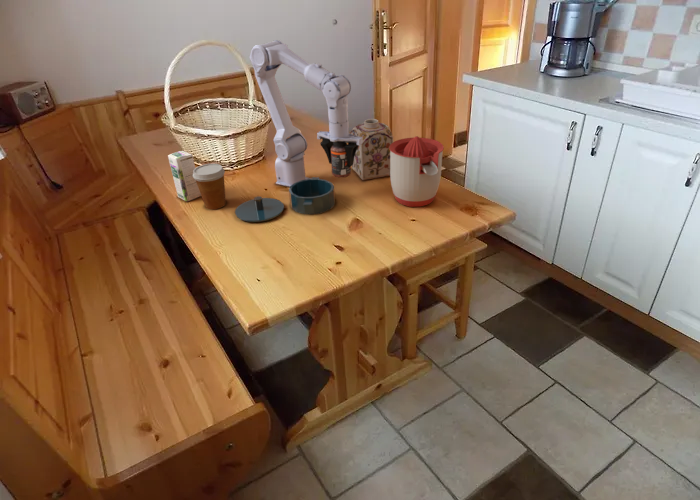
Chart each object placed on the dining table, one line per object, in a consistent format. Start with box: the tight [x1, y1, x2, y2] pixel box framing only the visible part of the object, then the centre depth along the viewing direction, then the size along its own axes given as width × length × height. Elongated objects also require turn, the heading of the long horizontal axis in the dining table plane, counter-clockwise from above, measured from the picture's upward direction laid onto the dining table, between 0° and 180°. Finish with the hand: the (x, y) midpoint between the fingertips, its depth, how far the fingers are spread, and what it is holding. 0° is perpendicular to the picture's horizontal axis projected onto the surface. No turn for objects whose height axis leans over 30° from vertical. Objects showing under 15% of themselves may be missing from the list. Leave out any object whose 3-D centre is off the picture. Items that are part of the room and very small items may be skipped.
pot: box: [288, 176, 336, 215], centre depth 145 cm, size 14×19×5 cm
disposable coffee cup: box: [192, 163, 227, 210], centre depth 145 cm, size 10×10×12 cm
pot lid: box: [234, 195, 285, 223], centre depth 142 cm, size 15×15×5 cm
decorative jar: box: [349, 118, 394, 181], centre depth 160 cm, size 12×12×18 cm
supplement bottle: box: [330, 141, 352, 178], centre depth 144 cm, size 6×6×11 cm
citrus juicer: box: [389, 135, 445, 208], centre depth 140 cm, size 16×17×20 cm
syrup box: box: [167, 150, 202, 202], centre depth 150 cm, size 6×6×14 cm
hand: (340, 164), depth 145 cm, fingers closed on supplement bottle, 6 cm apart
